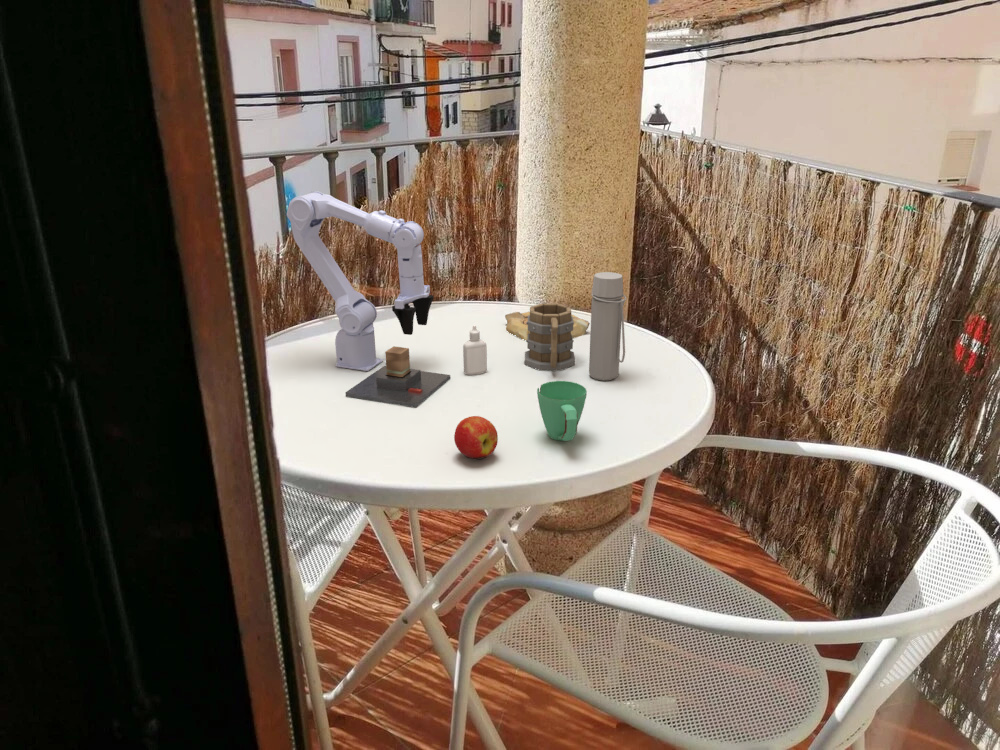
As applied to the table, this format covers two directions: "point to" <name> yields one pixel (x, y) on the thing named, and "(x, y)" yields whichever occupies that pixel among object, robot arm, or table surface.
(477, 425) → the apple
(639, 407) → the table surface
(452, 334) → the table surface
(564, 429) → the mug
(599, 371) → the water bottle
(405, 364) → the walnut post
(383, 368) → the dark grey stepped base
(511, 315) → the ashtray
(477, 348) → the eye dropper bottle
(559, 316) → the tankard
